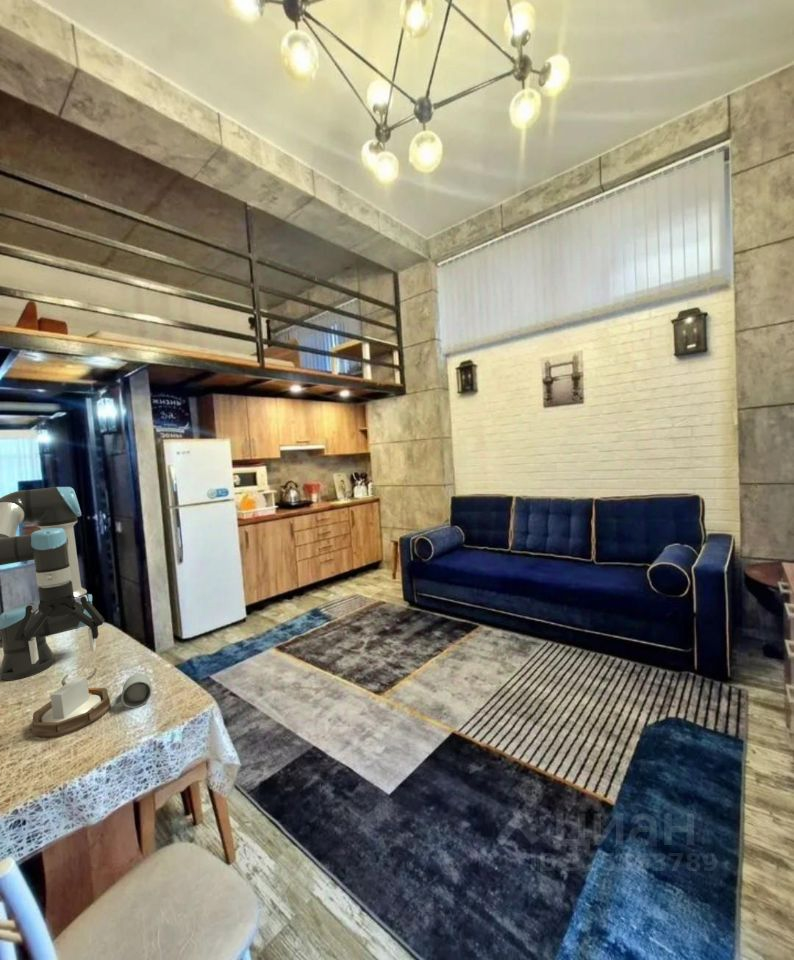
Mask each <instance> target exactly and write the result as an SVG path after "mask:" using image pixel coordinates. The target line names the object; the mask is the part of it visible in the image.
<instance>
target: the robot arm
mask: <svg viewBox="0 0 794 960" xmlns="http://www.w3.org/2000/svg"><path fill="white" fill-rule="evenodd" d="M81 516H82V511H81V508H80V504H79V500H78V498H77V495H76V492H75V489H74V488H72V487H71V486H56V487H55V486H54V487H46V488H45V487H43V488H36V489H28V490H27V489H24V490H18V491H13V492H11V493H8V494H5V495H3V496H2V497H0V566H5V565H11V564H16V563H22V562H23V563H24V562H28V561H29V562H30V561H33V562H34V567H35V576H36V577H35V578H36V584H37V586H38V588H37V591H38V600H34V601H28V602H25V603H21V604H18V605H15V606H13V607H11V608H9V609H7V610H5V611H3V612H2V613H1V614H0V636H1V644H2V650H3V657H2V660H1V664H0V680H3V681H13V680H19V679H24V678H28V677H30V676H33V675H36V674H39V673H41V672H43V671H45V670H47V669H49V668H50V667H52V666H53V665H54V664H55V662H56V657H55V653H54V652H53V651H52V649H51V648H50V646H49V645H48V643H47V639H46V638H47V637H48V636H52V635H53V636H54V635H56V634H60V633H64V632H68V631H73V630H78V629H80V628H84V627H88V629H87V634H88V641H89V649H90V650H89V651H90V652H94V651H95V650H96V648H97V643H96V639H98V637H99V634H100V633H99V627H100V626H102V625H103V624H104V622H105V618H104V617H103V616H102V614H100V612H99V611H98V610H97V609H96V607H95V606H94V605H93V595H92V593H91V594H90V593H88V591H87V589H86V588H83V587H82V583H81V575H80V568H79V560H78V554H77V553H78V552H77V545H76V537H75V528H74V526H75V525H76V524H77V523H78V518H79V517H81ZM25 523H37V528H40V529H39V530H35V531H33V532H32V533H31V534H30V533H29V534H24V535H23V534H22V535H17V532H18V528H19V525H20V524H25Z"/></svg>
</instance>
